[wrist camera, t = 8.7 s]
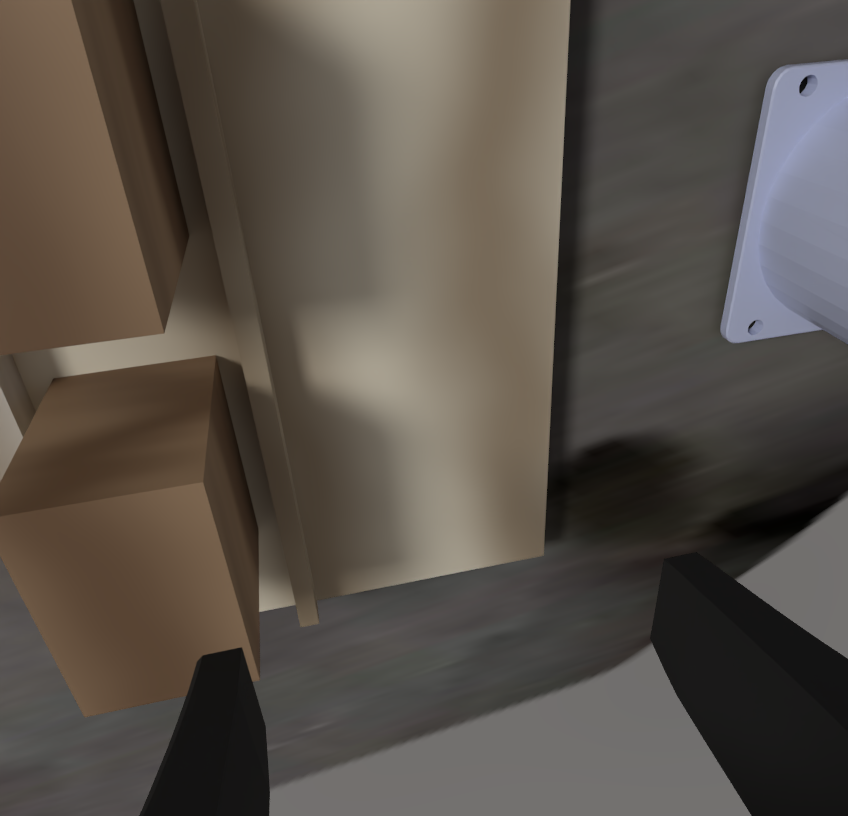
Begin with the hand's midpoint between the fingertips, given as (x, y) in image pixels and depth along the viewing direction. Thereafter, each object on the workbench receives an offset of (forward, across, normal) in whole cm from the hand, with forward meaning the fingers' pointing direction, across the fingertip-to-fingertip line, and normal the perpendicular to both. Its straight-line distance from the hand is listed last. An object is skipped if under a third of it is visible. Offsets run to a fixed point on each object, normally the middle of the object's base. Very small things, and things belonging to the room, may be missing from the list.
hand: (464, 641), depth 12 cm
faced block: (+9, +6, +2) cm, 11 cm away
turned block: (+9, +6, -8) cm, 13 cm away
